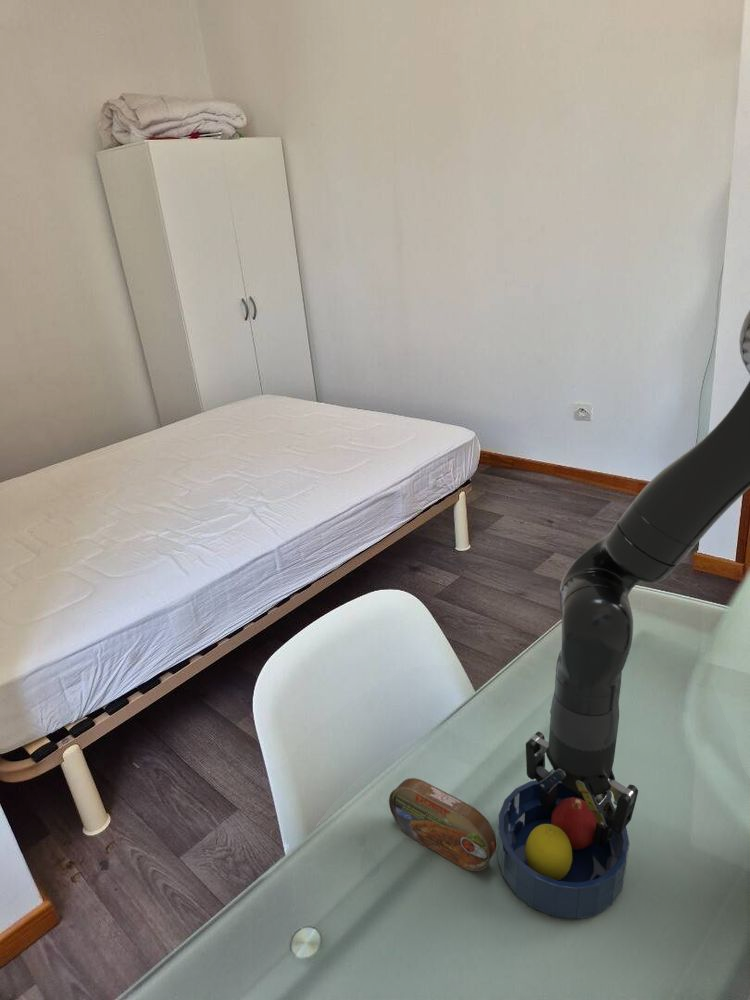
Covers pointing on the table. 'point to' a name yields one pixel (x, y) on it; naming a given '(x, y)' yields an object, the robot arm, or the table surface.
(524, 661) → the table surface
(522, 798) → the bowl
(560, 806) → the onion
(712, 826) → the table surface
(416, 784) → the tin
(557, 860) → the lemon
